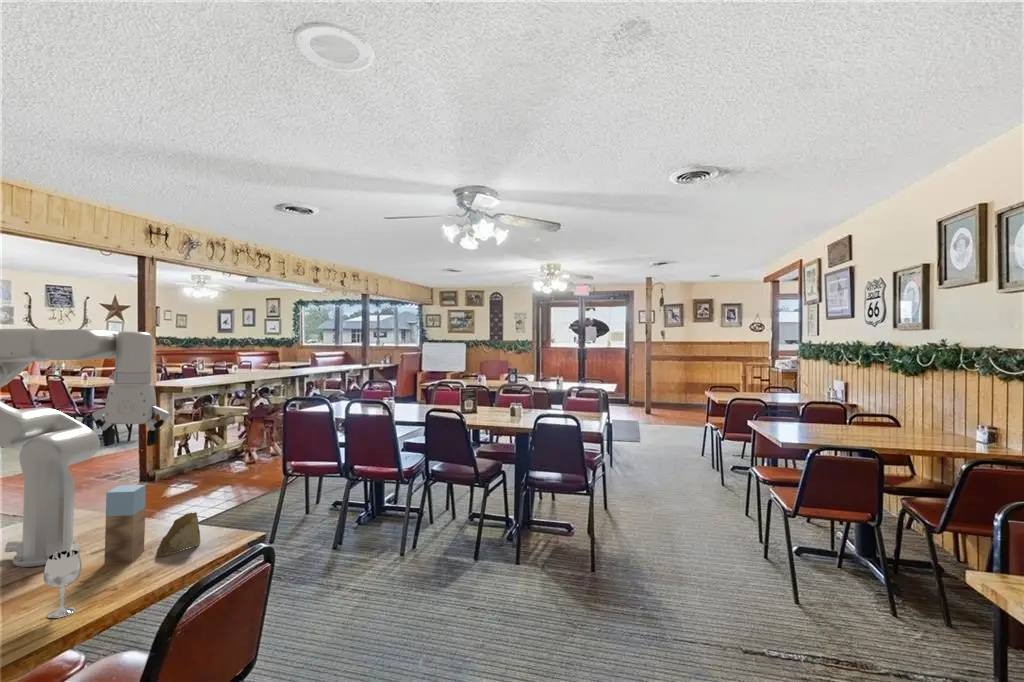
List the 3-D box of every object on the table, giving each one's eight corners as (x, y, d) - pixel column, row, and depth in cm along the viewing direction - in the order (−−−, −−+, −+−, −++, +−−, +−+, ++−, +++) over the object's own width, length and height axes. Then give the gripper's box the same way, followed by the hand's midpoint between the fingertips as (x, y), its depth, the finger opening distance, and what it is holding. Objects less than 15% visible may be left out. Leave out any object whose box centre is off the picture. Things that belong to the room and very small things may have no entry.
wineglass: (47, 609, 102) (49, 552, 102) (83, 603, 105) (85, 547, 105) (37, 624, 97) (39, 563, 97) (75, 616, 100) (77, 557, 100)
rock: (153, 554, 124) (199, 541, 129) (151, 521, 128) (196, 510, 133) (159, 565, 132) (203, 552, 137) (157, 533, 136) (200, 522, 141)
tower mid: (105, 540, 122) (105, 516, 122) (118, 531, 128) (119, 508, 128) (132, 539, 124) (133, 515, 124) (144, 529, 130) (145, 507, 130)
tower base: (104, 564, 122) (105, 540, 122) (117, 554, 128) (118, 531, 128) (131, 562, 124) (132, 539, 124) (143, 552, 130) (144, 530, 130)
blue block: (105, 516, 123) (106, 492, 123) (118, 508, 128) (119, 485, 128) (133, 515, 124) (133, 491, 124) (145, 507, 130) (145, 484, 130)
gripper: (85, 379, 122) (82, 448, 122) (163, 381, 125) (160, 448, 125) (104, 377, 129) (101, 442, 129) (177, 378, 133) (174, 442, 133)
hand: (130, 445), depth 127 cm, fingers open, 9 cm apart
